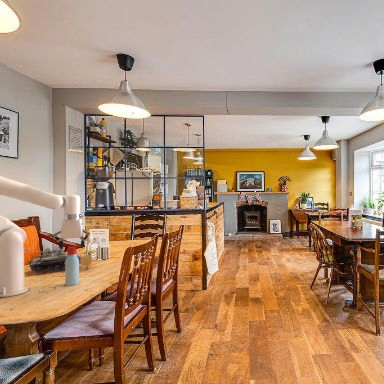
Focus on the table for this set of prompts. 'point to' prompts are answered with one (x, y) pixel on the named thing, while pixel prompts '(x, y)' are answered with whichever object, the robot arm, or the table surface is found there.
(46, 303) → the table surface
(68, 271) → the bottle
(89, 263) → the wall sconce
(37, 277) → the table surface
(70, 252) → the cap
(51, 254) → the tank
